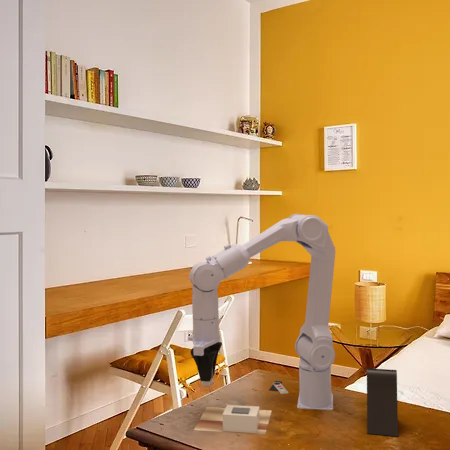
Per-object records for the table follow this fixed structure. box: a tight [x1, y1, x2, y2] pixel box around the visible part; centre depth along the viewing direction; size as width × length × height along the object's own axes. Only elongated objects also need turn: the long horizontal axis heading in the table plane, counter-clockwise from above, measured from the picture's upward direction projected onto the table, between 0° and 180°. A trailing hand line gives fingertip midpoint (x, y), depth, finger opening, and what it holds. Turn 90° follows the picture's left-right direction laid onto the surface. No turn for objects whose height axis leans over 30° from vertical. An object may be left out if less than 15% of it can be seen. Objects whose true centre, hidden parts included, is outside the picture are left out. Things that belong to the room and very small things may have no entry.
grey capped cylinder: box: [200, 367, 214, 387], centre depth 117 cm, size 3×3×6 cm
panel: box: [193, 406, 273, 435], centre depth 115 cm, size 12×15×1 cm
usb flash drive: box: [268, 380, 289, 395], centre depth 133 cm, size 9×5×1 cm, turn 162°
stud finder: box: [222, 404, 261, 434], centre depth 112 cm, size 5×7×4 cm
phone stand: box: [366, 367, 399, 437], centre depth 111 cm, size 9×6×12 cm, turn 164°
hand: (207, 378), depth 117 cm, fingers closed on grey capped cylinder, 3 cm apart
